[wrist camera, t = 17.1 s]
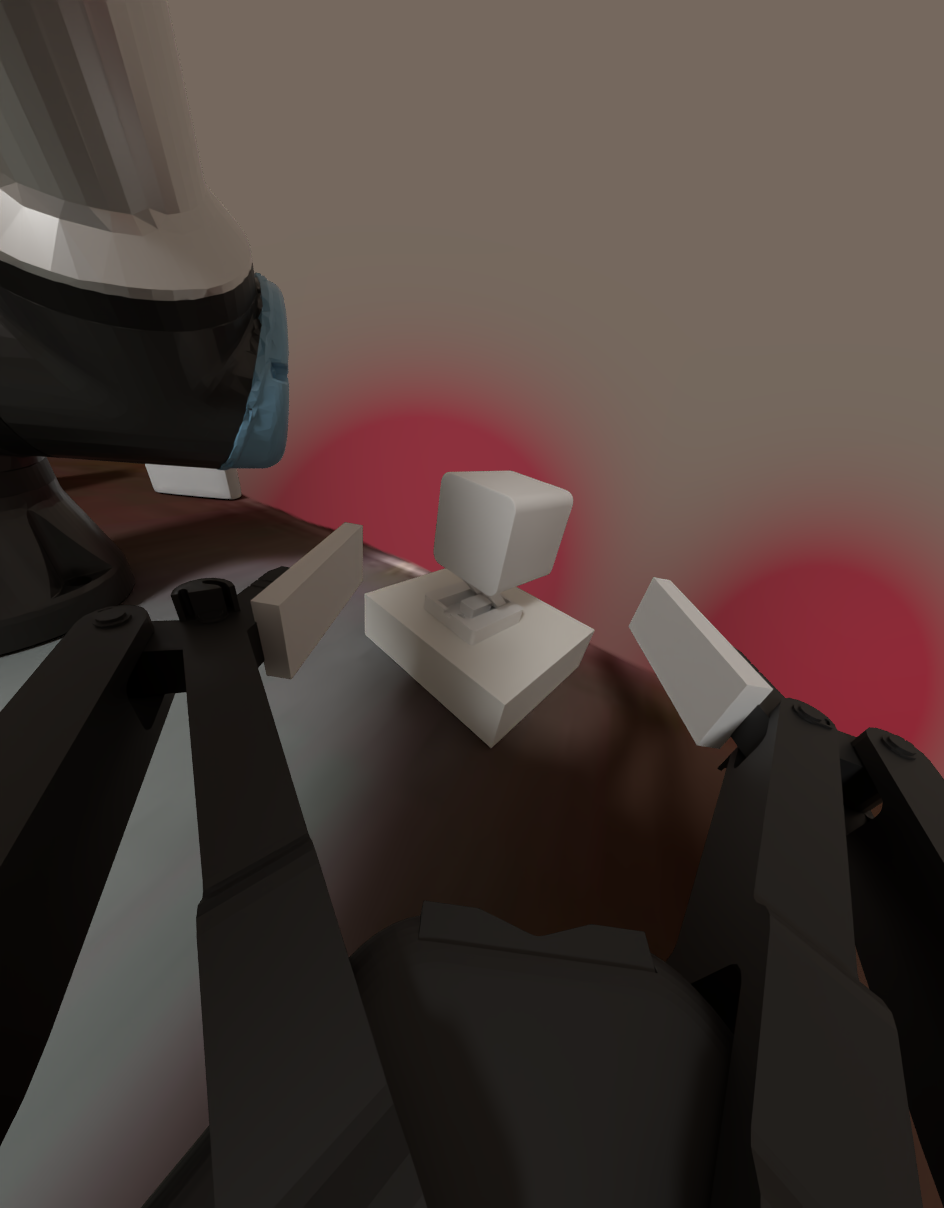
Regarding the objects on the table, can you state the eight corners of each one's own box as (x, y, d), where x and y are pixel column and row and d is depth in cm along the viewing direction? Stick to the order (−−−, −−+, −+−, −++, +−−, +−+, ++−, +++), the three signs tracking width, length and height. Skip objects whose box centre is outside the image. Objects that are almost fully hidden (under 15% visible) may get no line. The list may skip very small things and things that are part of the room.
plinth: (364, 634, 28) (364, 593, 26) (463, 594, 36) (469, 560, 34) (491, 748, 21) (504, 705, 19) (578, 666, 29) (594, 630, 27)
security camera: (536, 618, 27) (577, 493, 22) (475, 650, 23) (508, 501, 17) (481, 583, 31) (505, 468, 25) (418, 604, 26) (431, 469, 21)
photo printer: (147, 493, 45) (110, 385, 38) (167, 485, 49) (135, 384, 42) (234, 503, 47) (213, 401, 41) (246, 494, 51) (228, 399, 44)
